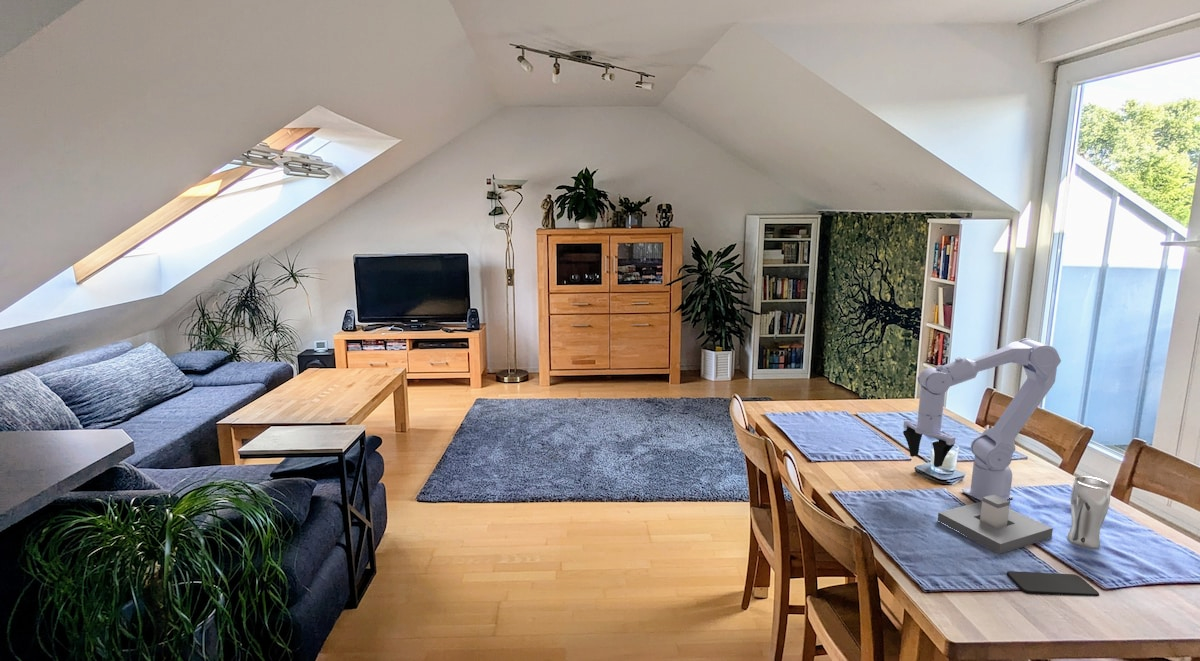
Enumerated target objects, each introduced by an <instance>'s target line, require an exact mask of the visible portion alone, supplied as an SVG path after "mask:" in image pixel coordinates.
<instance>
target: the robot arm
mask: <svg viewBox="0 0 1200 661" xmlns="http://www.w3.org/2000/svg"><path fill="white" fill-rule="evenodd" d="M954 360H955V361H954ZM954 360H953V361H952V362H949V363H946V364H944V365H941V364H938V365H936V368H934V367H933V368H932V367H927V368H924V369H923V370H922V371H921V372H920V374H919V375H918V376H917V383H918V384H919V385H920V393H919V402H918V403H919V404H918V412H917V413H918V414H917V421H914V420H909V419H908V420H903V429H905V430H903V432H902V434H903V436H904V438H905V440H906V444H907V446H908V451H909V456H910V457H912V458H913V457H917V456H918V455H919V452H920V445H921V440H922V437H923V435H925V436H927V437H929V438H933V439H935V440H937V441H933V442H932V448H933V453H934V454H933V455H934V457H933V467H934V468H940V467H942V466H943V463H944V462H945V458H946V457H947V455H948V453H949V452H950V450H951V449H952V448H953V447H954V446H955V445H956V436H953V435H951V434H949V433H948V432H946V431H944V430H943V429H942V425H943V424H942V423H943V412H944V402H945V393H946V392H948V390H949V389H950V387H952V386H956V385H958V384H959V385H960V384H962V383H964V382H965V383H966V382H967V381H970V380H973V379H975V378H976V377H977V375H978V374H979V372H983V371H985V370H989V369H992V368H997V367H999V366H1004V365H1006V364H1010V363H1013V364H1016V365H1017V364H1018V365H1021V366H1022V367H1023V369H1024V372H1025V375H1026V377H1027V378H1026V379H1025V381H1024V383H1022V385H1021V386H1020V388H1019V390H1018V391H1017V393H1016V394H1015V396H1014V397H1013V399H1012V400H1011V401H1010V403H1009V404H1008V405H1007V407H1006V408H1005V410H1004V411H1003V412H1002V414H1001V415H1000V417H999V418H998V419H997V421H996V423H994V425H993V427H990V428H988V429H984V430H983V432H982V433H981V434H980V435H979V436H977V437H975V438H974V439H973V440H972V441H971V444H970V450H971V452H972V454H973V455H974V459H973V463H972V464H973V465H972V474H971V482H970V483H971V484H970V488H968V489H967V488H966V489H963V490H962V493H964V494H966V495H968V496H969V497H972V498H974V499H977V500H978V501H982V499H983V497H986V496H990V495H996V496H999V497H1001V498H1003V499H1007V500H1010V499H1009V498H1011V499H1014V496H1013V495H1011V489H1012V481H1013V472H1012V469H1011V467H1010V464H1011V463H1012V459H1013V454H1014V453H1015V451H1016V444H1015V443H1016V442H1015V439H1016V438H1017V436H1018V435H1019V433H1020V432H1021V430H1023V428H1024V427H1025V425H1026V424H1027V423H1028V421H1029V420H1030V418H1031V417H1032V415H1033V413H1034V412H1035V411H1036V410H1037V408H1038V406H1040V404H1041V403H1042V401H1043V400H1044V399H1045V397H1046V395H1047V394H1048V393H1049V391H1050V390H1051V389H1052V388H1053V385H1054V384H1055V382H1056V379H1057V378H1056V377H1057V371H1058V369H1057V368H1058V367H1059V365H1060V363H1061V362H1062V360H1061V358H1060V355H1059V352H1058V351H1057V349H1056V348H1055V347H1054V346H1051V345H1049V344H1045V343H1042V342H1039V341H1036V340H1035V339H1033V338H1029V337H1025V338H1022V339H1019V340H1018V341H1017V340H1016V341H1012V342H1010V343H1009V344H1006V345H1005V346H1003V347H1000V348H998V349H996V350H993V351H991V352H988V353H986V354H983V355H980V356H979V357H977V358H976V357H975V358H974V359H970V358H967V357H963V358H962V357H956V358H955V359H954Z"/></svg>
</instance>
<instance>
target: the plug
mask: <svg viewBox="0 0 1200 661" xmlns="http://www.w3.org/2000/svg"><path fill="white" fill-rule="evenodd" d="M1010 503H1011V501H1010V500H1009V499H1007V500H1006V499H1003V498H1001V497H999V496H996V495H990V496H986V497H983V499H982V507H981V516H980V520H981V521H983V522H985V523H987V524H989V525H991V526H993V527H995V528H997V529H998V528H1002V527H1005V526H1007V521H1008V513H1009V509H1010V506H1011V504H1010Z"/></svg>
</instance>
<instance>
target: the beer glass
mask: <svg viewBox="0 0 1200 661" xmlns="http://www.w3.org/2000/svg"><path fill="white" fill-rule="evenodd" d="M1073 481H1074V482H1073V484H1072V489H1071V495H1070V513H1071V525H1070V528H1069V532H1068V534H1067V536H1066V537H1067V540H1068V541H1069V542H1070V543H1071V544H1072V543H1073V544H1074V545H1077V547H1081V548H1085V549H1098V548H1100V547H1101V539H1100V535H1101V534H1100V533H1101V529H1102V526H1103V524H1104V521H1105V519H1106V517H1107V515H1108V511H1109V508H1110V502H1111V489H1112V488H1111V487H1112V486H1111V483H1110V482H1107V481H1106V480H1103V479H1101V478H1098V477H1093V476H1086V475H1079V476H1078V475H1077V476H1076V477H1074V480H1073Z"/></svg>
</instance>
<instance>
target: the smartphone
mask: <svg viewBox="0 0 1200 661" xmlns="http://www.w3.org/2000/svg"><path fill="white" fill-rule="evenodd" d="M1006 576H1007V578H1008V579H1009V580H1010V581H1011V582H1013V583H1014V585H1016V587H1017V588H1018V589H1019V590H1021V591H1022V592H1023V593H1024V594H1026V595H1041V596H1043V595H1044V596H1074V597H1075V596H1076V597H1077V596H1078V597H1081V596H1082V597H1099V596H1100V593H1099V591H1097V589H1096V588H1094V587H1093V586H1092V585H1090V584H1089V583H1088V582H1087V581H1086V580H1085V579H1084V578H1082V577H1081V576H1080V575H1077V574H1073V573H1072V574H1071V573H1055V572H1054V573H1053V572H1033V571H1032V572H1031V571H1029V572H1028V571H1013V570H1012V571H1010V570H1009V571H1006Z"/></svg>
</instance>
